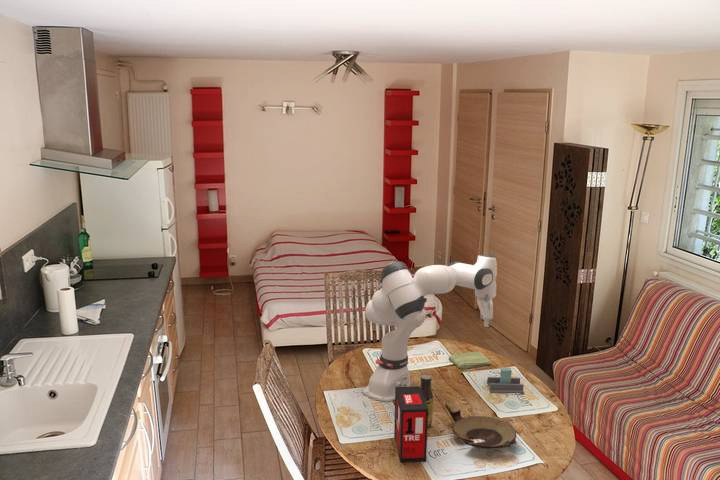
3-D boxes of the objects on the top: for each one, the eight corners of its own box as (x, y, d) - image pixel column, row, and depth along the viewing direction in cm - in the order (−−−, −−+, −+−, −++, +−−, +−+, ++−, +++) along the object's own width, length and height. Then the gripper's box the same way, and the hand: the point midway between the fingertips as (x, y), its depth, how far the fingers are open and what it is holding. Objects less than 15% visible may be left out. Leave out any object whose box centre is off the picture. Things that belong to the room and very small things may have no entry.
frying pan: (474, 466, 203) (475, 446, 201) (434, 422, 230) (435, 404, 229) (529, 454, 210) (531, 434, 208) (484, 412, 238) (485, 395, 236)
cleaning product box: (394, 436, 220) (395, 386, 216) (417, 435, 221) (419, 386, 216) (400, 462, 204) (402, 410, 200) (426, 461, 205) (428, 409, 200)
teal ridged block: (501, 387, 256) (502, 370, 254) (499, 384, 259) (500, 367, 257) (510, 387, 256) (511, 370, 254) (508, 384, 259) (510, 367, 257)
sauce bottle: (427, 431, 224) (429, 382, 219) (412, 426, 227) (414, 378, 223) (435, 423, 229) (436, 375, 225) (420, 418, 233) (422, 371, 228)
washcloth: (493, 366, 280) (493, 359, 280) (459, 371, 275) (460, 364, 274) (479, 355, 292) (479, 349, 292) (446, 359, 287) (447, 353, 286)
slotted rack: (490, 393, 253) (491, 385, 252) (486, 382, 263) (487, 375, 262) (523, 394, 253) (524, 386, 252) (518, 383, 262) (519, 376, 262)
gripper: (497, 299, 242) (495, 331, 245) (489, 284, 262) (488, 314, 265) (481, 299, 243) (480, 331, 245) (474, 284, 263) (473, 314, 265)
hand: (484, 322), depth 255 cm, fingers open, 8 cm apart
